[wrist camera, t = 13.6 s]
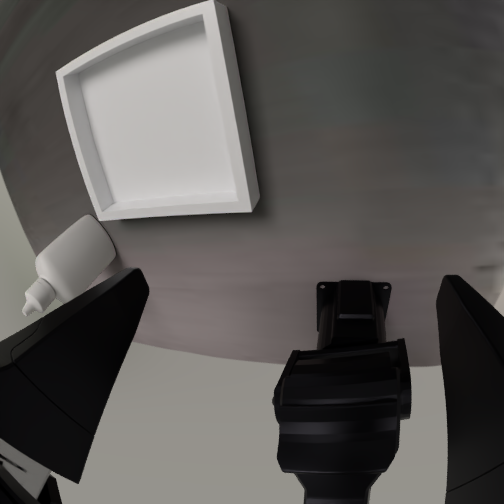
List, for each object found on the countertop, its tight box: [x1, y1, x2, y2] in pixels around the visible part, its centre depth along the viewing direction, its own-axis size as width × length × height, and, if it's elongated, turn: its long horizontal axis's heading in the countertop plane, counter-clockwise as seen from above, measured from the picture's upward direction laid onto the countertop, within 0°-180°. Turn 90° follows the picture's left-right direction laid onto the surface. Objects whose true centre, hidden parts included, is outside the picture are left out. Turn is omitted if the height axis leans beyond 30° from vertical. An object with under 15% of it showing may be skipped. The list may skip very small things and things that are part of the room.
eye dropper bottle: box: [22, 215, 116, 316], centre depth 23 cm, size 4×6×12 cm
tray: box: [56, 0, 260, 221], centre depth 18 cm, size 14×14×2 cm
